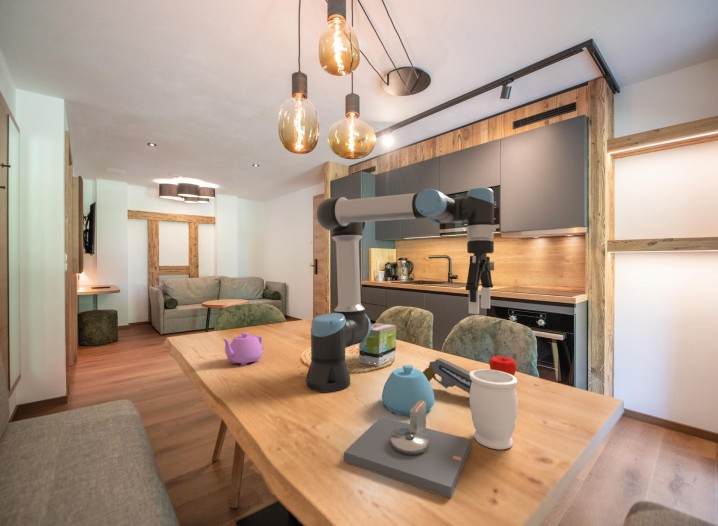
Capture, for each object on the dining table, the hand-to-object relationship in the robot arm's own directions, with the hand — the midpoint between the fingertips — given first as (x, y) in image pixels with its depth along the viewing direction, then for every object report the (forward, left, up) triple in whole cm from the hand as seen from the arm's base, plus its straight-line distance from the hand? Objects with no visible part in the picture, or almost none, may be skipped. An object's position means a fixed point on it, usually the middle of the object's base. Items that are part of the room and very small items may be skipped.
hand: (479, 310), depth 98 cm
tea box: (-45, +22, -27) cm, 57 cm away
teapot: (-93, -8, -27) cm, 97 cm away
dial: (-9, -34, -25) cm, 43 cm away
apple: (+4, +22, -27) cm, 35 cm away
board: (-9, -37, -27) cm, 47 cm away
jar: (+6, -22, -27) cm, 36 cm away
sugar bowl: (-18, -14, -27) cm, 35 cm away
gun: (-7, +2, -28) cm, 28 cm away
